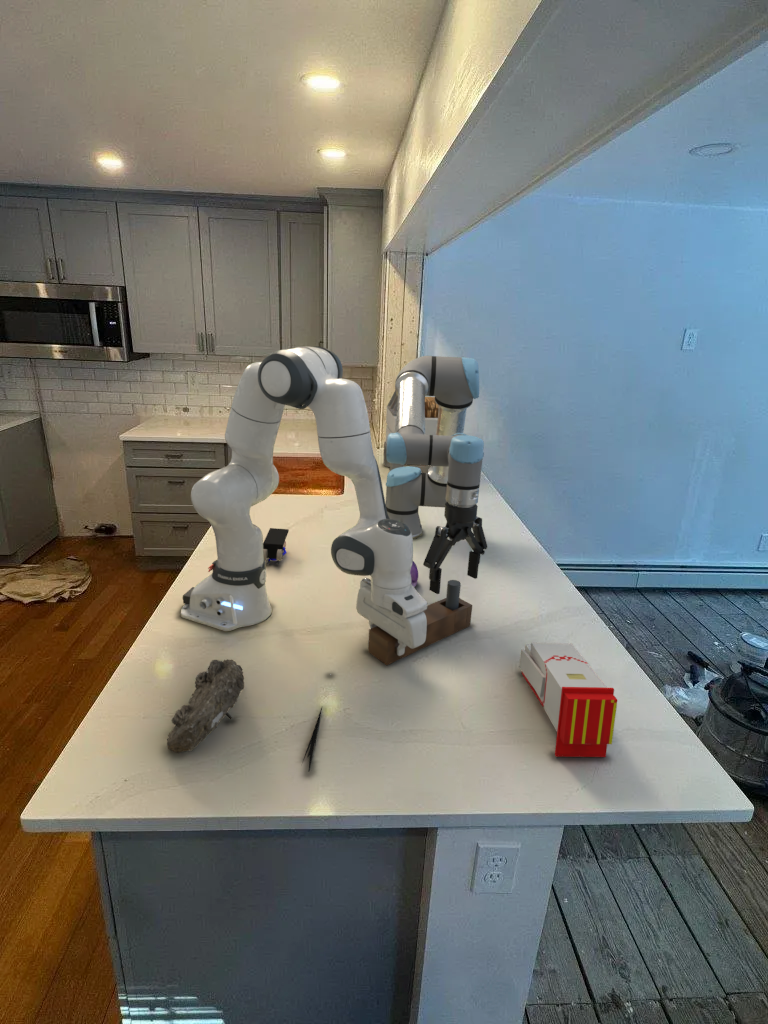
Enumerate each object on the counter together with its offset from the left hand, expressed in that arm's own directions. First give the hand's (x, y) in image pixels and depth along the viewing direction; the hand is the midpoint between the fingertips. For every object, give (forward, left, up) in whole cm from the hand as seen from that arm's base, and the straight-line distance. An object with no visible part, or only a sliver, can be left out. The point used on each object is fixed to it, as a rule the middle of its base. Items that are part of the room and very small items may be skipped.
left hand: (387, 645), depth 130 cm
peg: (+12, +17, -2) cm, 21 cm away
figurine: (-3, +35, -2) cm, 35 cm away
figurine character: (-45, +40, -2) cm, 60 cm away
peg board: (+6, +9, -2) cm, 11 cm away
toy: (+37, -8, -2) cm, 38 cm away
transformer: (-20, +153, -2) cm, 155 cm away
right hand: (+12, +17, +9) cm, 23 cm away
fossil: (-27, -30, -2) cm, 41 cm away
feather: (-8, -25, -2) cm, 26 cm away
